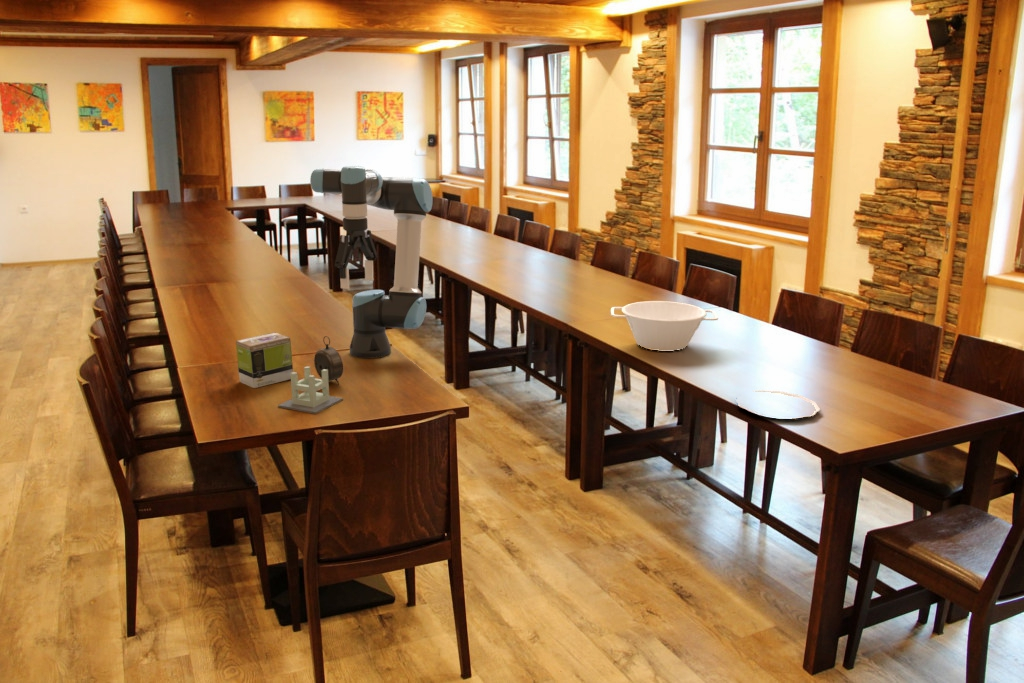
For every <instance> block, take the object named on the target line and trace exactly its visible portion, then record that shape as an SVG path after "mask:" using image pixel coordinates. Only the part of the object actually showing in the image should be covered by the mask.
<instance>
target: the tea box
mask: <svg viewBox="0 0 1024 683" xmlns="http://www.w3.org/2000/svg"><path fill="white" fill-rule="evenodd" d="M291 341H292V340H291V337H288V336H287V335H283V334H280V333H278V332H275V331H274V332H272V333H271V332H270V333H266V334H262V335H261V334H260V335H257V336H250V337H246V338H242V339H239V340H235V346H236V347H235V349H236V357H237V368H238V377H239V378H238V379H239V382H240V383H241V384H244V385H246V386H248V387H250V388H252V389H256V388H261V387H264V386H267V385H268V386H269V385H272V384H277V383H280V382H285V381H288V380H291V373H292V372H294V367H293V366H294V365H293V355H292V354H293V353H292V352H293V351H292V342H291Z"/></svg>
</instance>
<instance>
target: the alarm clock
mask: <svg viewBox="0 0 1024 683" xmlns="http://www.w3.org/2000/svg"><path fill="white" fill-rule="evenodd" d="M325 338H327V339H328V341H329V342H328V343H326V342H325ZM322 340H323V344H324V345H325V347H324V348H322V349H319V350H316V352H315V355H314V359H313V362H314V364H313V365H314V368H315V370H316V373H317V375H318V376H319V377H320V378H321V379H322V371H321V370H323V369H327V370H328V382H331V381H335V383H336V384H337V386H340V383H339V380H338V379H340V378H341V377H342V376H343V372H344V362H343V359H342V356H341V355H340V353H339V351H337V350H336V349H335V348H334V347H332V346H330V344H331V339H330V337H329V336H328V335H325V336H324V337H323V339H322Z"/></svg>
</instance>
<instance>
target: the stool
mask: <svg viewBox="0 0 1024 683" xmlns="http://www.w3.org/2000/svg"><path fill="white" fill-rule="evenodd" d="M311 371H312V370H311V366H304V367H303V376H304V377H303V378H302V379H298V378H299V376H298V372H295V371H293V372H292V373H291V379H290V385H291V387H290V388H291V399H292V404H297V405H303V406H308V407H316V406H318V405H320V404H322V403H324V402H326V401H328V400H329V396H330V386H329V382H330V381H328V370H327V369H323V370H321V371H322V378H321V379H320V378H316V375H313V374H312V373H311ZM320 390H321V391H322V392H318V391H320ZM299 391H300V392H302V393H299Z"/></svg>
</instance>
